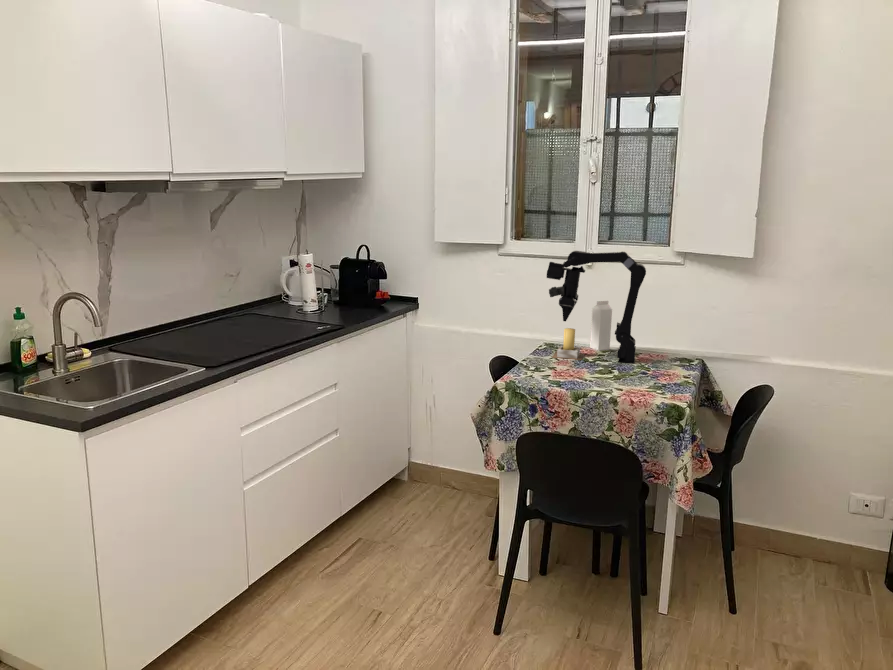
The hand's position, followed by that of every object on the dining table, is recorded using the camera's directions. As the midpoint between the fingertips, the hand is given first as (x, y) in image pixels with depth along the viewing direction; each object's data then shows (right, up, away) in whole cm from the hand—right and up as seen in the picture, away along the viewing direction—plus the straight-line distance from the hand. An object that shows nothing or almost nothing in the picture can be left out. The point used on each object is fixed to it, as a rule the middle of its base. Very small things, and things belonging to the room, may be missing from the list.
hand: (565, 319), depth 292 cm
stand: (+1, -16, -1) cm, 16 cm away
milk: (+17, -14, +13) cm, 26 cm away
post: (+1, -15, -2) cm, 15 cm away
